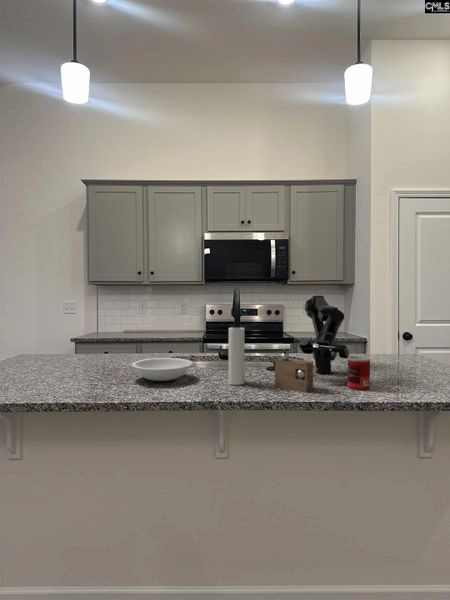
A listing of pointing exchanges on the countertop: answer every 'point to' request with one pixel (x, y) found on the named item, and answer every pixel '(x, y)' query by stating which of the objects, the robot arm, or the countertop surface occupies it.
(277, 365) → the mount
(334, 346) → the robot arm
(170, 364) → the soup bowl
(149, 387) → the countertop surface
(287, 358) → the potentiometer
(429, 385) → the countertop surface
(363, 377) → the canned food
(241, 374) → the paper towel roll
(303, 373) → the knob
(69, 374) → the countertop surface
